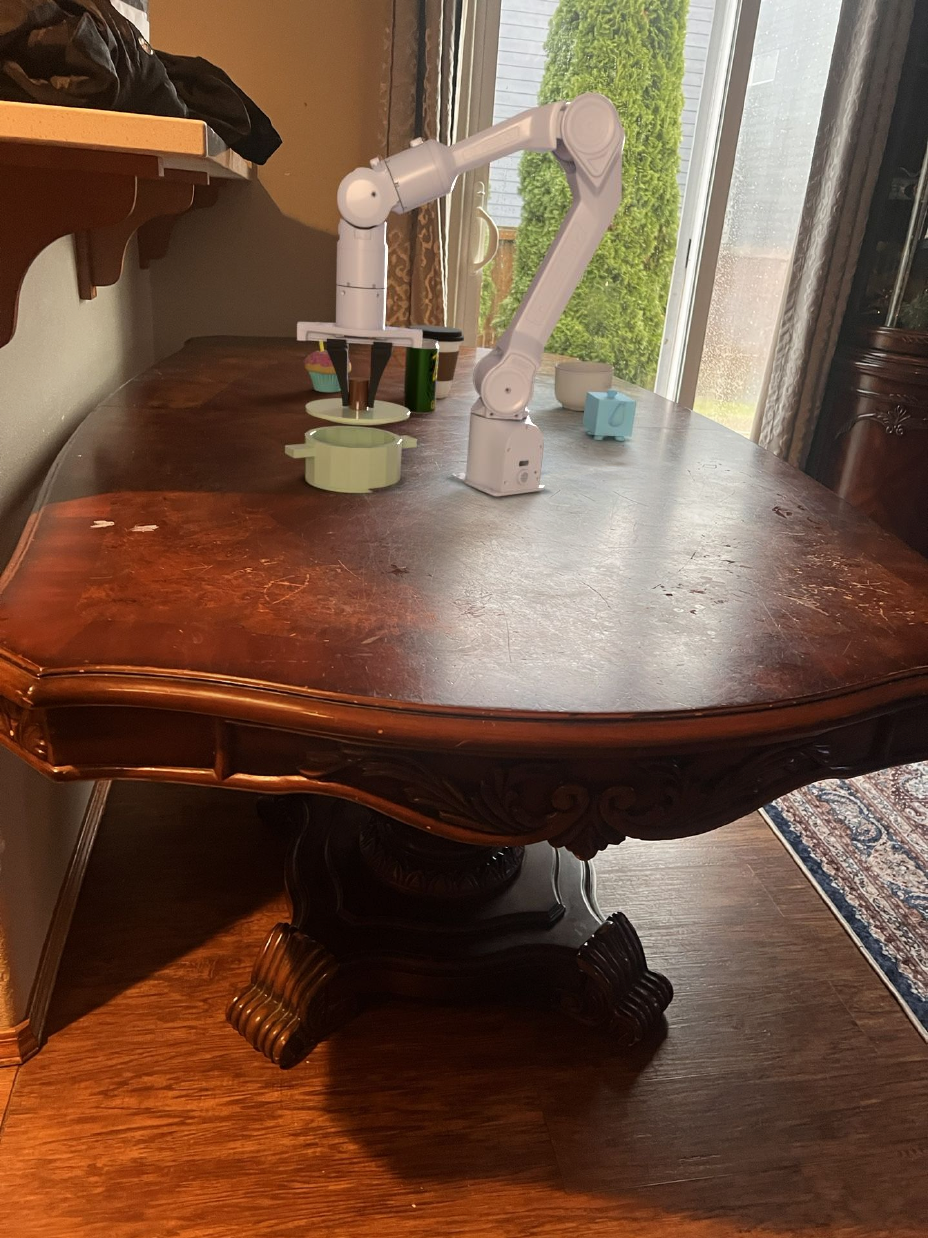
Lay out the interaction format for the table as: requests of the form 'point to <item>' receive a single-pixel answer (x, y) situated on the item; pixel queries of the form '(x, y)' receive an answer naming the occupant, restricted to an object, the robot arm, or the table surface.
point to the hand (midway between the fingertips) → (358, 405)
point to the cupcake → (323, 371)
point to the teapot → (609, 414)
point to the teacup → (580, 382)
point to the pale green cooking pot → (351, 457)
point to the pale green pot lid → (357, 407)
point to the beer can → (421, 377)
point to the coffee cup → (443, 353)
